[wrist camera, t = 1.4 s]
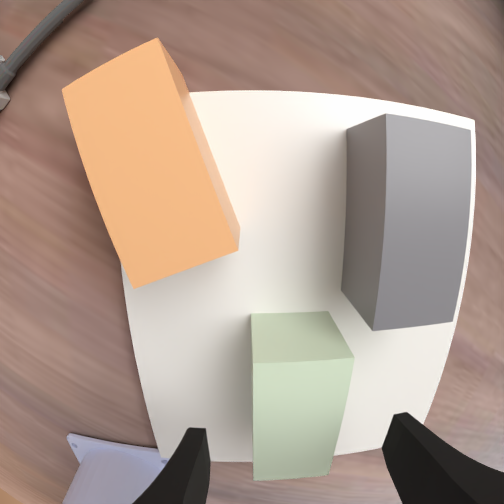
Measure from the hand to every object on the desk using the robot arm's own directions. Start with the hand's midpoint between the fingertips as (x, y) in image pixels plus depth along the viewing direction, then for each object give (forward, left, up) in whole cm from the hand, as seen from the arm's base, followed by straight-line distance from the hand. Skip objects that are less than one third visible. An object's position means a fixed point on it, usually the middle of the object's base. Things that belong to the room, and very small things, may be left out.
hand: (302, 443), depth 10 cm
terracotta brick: (+10, +5, -5) cm, 12 cm away
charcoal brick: (+8, -4, -5) cm, 10 cm away
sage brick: (0, 0, -5) cm, 5 cm away
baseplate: (+3, -1, -6) cm, 6 cm away
